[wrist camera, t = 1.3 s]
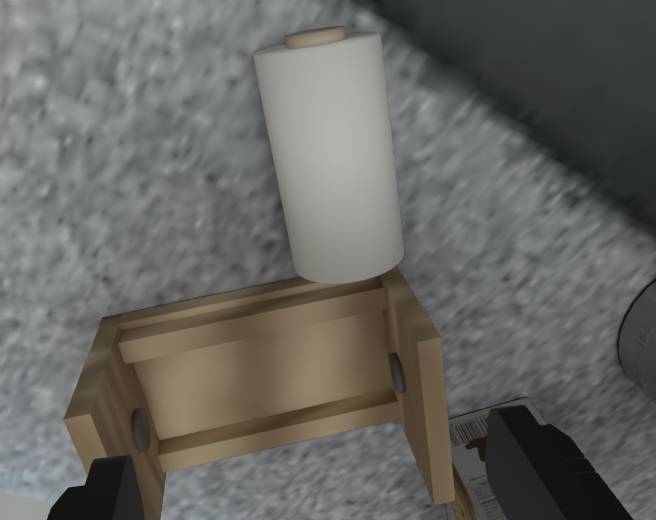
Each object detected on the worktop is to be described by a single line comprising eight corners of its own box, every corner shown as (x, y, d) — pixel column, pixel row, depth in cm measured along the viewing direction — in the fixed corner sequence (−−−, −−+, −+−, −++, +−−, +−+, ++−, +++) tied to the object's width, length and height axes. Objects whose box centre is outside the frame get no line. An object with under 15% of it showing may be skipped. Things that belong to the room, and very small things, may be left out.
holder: (391, 258, 31) (441, 337, 24) (408, 396, 35) (455, 500, 28) (102, 317, 30) (63, 419, 23) (151, 454, 34) (131, 578, 27)
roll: (248, 38, 26) (252, 48, 22) (364, 18, 27) (393, 23, 22) (291, 255, 31) (301, 302, 26) (390, 235, 31) (418, 278, 26)
